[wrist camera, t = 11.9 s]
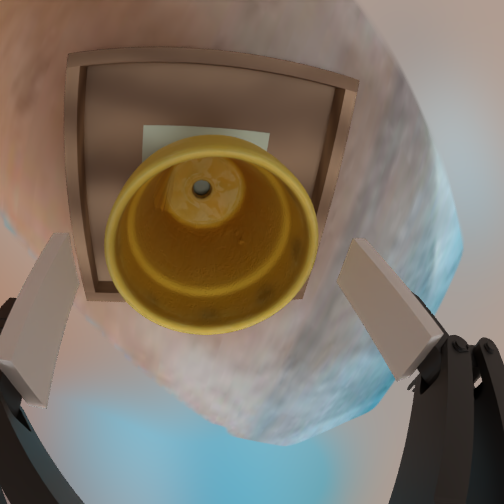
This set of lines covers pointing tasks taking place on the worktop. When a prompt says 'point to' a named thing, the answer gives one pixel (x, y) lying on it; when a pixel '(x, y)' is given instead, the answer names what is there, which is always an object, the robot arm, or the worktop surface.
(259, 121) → the walnut tray
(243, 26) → the worktop surface
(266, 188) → the plant pot
